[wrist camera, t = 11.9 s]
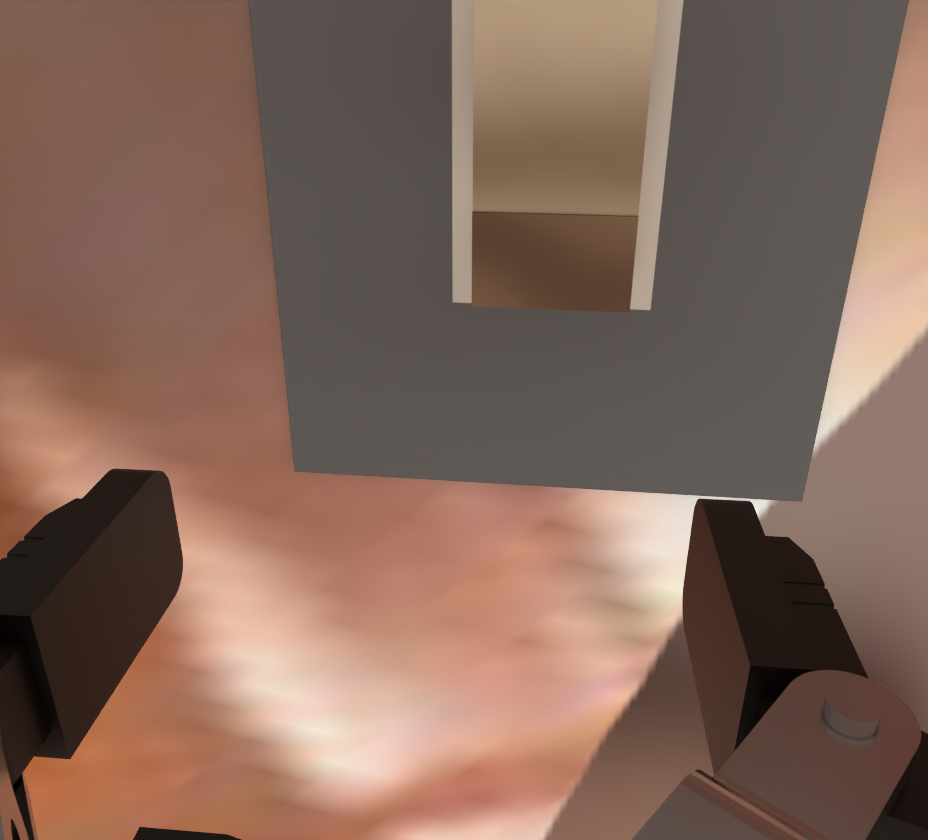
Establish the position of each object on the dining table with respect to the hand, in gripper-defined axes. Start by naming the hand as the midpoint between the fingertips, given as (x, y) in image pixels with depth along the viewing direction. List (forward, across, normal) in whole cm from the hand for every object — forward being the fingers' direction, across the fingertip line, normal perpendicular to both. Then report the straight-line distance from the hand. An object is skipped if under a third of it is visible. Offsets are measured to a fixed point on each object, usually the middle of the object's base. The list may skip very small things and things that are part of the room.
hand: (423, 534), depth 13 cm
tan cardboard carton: (+18, -2, -4) cm, 19 cm away
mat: (+19, -2, 0) cm, 19 cm away
